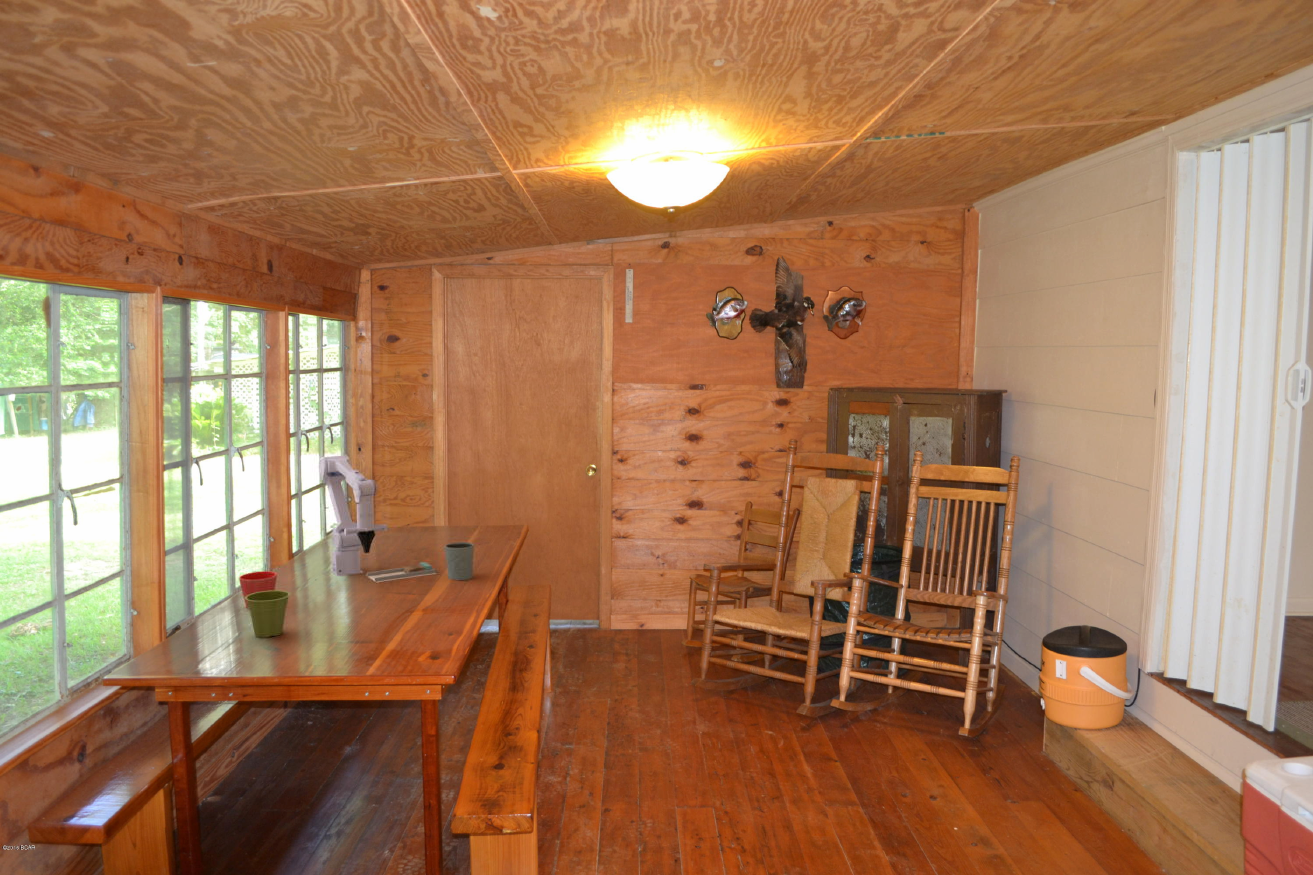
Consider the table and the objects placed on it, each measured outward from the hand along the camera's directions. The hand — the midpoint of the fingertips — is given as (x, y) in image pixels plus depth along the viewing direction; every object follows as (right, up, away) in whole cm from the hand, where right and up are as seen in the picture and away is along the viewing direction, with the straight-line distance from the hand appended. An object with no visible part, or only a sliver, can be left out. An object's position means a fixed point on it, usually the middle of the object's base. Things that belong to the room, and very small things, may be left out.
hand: (366, 552), depth 310 cm
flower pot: (-24, -13, -31) cm, 41 cm away
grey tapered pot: (+32, -10, +4) cm, 34 cm away
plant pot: (-8, -16, -60) cm, 62 cm away
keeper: (+14, -9, +10) cm, 19 cm away
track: (+10, -9, +7) cm, 16 cm away
